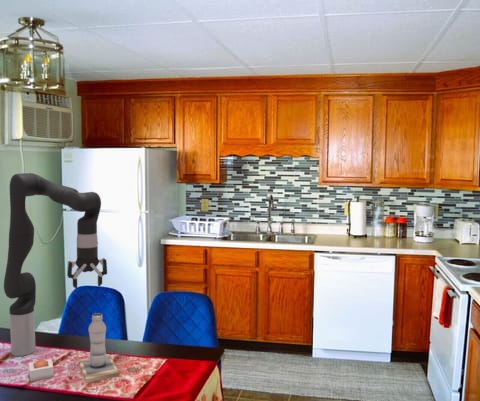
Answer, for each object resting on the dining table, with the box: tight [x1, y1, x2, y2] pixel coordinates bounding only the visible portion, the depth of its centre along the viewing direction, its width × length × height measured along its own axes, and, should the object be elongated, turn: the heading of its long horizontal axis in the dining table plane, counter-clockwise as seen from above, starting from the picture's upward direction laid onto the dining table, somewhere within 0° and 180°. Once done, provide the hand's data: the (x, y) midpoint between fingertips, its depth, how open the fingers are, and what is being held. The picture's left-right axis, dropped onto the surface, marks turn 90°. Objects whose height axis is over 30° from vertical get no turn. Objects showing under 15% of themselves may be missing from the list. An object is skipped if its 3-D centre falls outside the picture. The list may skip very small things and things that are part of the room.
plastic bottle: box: [88, 312, 108, 367], centre depth 181 cm, size 6×7×20 cm
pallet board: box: [78, 354, 120, 384], centre depth 182 cm, size 18×12×2 cm, turn 27°
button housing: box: [28, 358, 55, 383], centre depth 177 cm, size 8×8×4 cm
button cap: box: [34, 359, 47, 368], centre depth 177 cm, size 4×4×4 cm
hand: (87, 286), depth 180 cm, fingers open, 8 cm apart
